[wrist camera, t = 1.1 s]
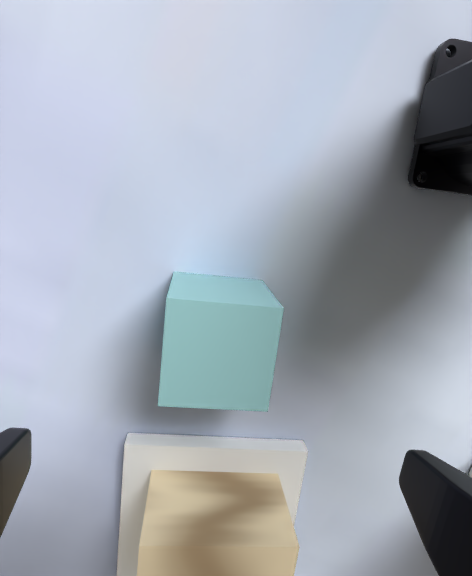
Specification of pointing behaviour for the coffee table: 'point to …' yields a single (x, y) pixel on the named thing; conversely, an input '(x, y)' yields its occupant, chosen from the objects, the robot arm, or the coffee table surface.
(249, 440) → the baseplate
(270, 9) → the coffee table surface
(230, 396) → the teal block
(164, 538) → the maple brick
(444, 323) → the coffee table surface
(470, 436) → the coffee table surface
